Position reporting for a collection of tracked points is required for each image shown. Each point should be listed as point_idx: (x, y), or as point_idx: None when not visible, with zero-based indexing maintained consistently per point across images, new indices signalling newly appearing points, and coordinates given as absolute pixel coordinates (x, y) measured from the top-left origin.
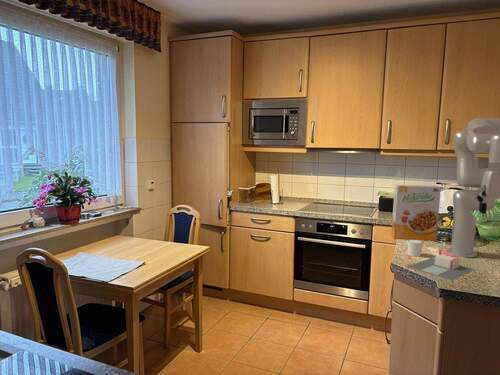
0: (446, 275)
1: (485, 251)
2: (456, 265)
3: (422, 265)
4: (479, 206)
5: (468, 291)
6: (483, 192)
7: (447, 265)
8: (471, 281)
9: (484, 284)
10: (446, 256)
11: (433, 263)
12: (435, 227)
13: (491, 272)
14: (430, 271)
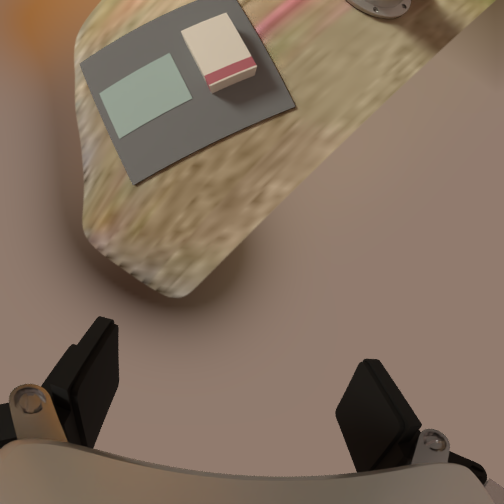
0: (145, 144)
1: (450, 7)
2: (234, 81)
3: (135, 50)
4: (57, 369)
5: (131, 263)
6: (44, 502)
7: (202, 74)
8: (196, 195)
9: (218, 223)
10: (227, 33)
11: None
12: None
13: (333, 135)
14: (117, 108)
